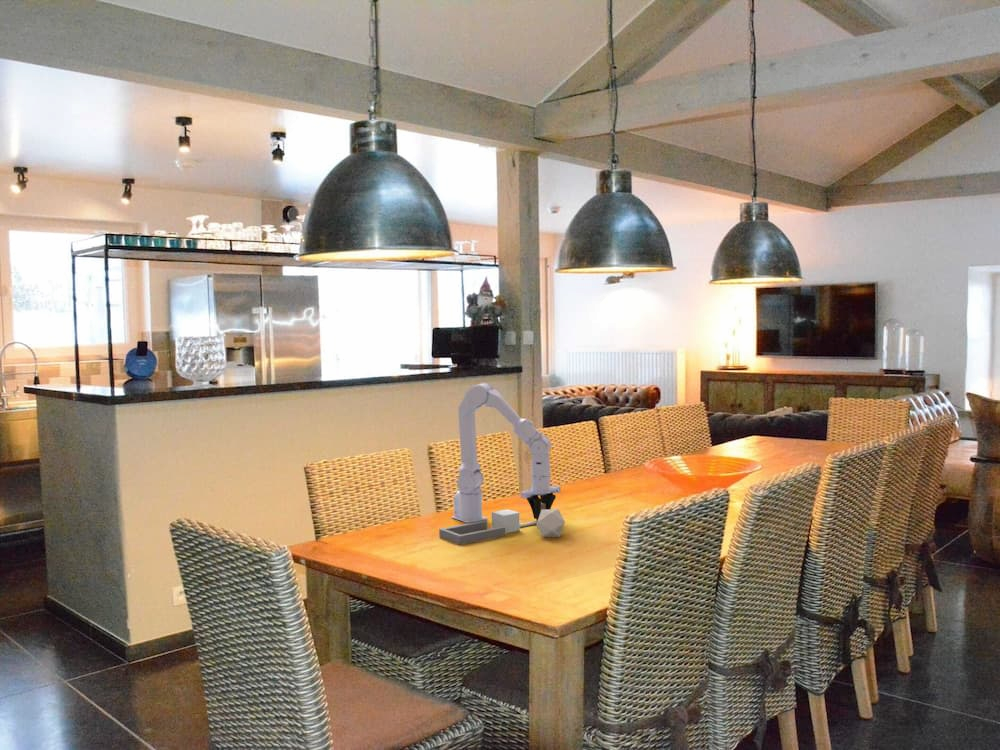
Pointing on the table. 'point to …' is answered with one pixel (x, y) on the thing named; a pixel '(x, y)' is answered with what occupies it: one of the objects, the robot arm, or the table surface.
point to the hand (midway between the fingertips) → (541, 518)
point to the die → (550, 523)
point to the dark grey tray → (470, 533)
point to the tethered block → (510, 519)
